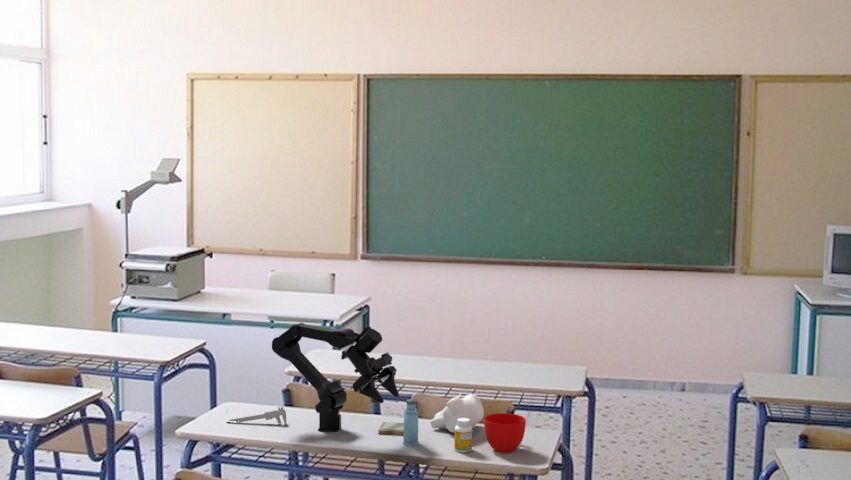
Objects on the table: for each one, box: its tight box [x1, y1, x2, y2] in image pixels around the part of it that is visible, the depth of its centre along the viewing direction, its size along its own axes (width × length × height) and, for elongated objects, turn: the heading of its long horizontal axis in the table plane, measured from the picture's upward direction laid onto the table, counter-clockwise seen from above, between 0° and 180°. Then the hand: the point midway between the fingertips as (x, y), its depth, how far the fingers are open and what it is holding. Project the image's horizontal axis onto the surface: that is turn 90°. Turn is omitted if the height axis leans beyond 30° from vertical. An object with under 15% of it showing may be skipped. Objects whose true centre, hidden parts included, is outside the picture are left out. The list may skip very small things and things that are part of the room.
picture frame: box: [377, 421, 404, 436], centre depth 334 cm, size 10×10×1 cm
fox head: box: [430, 393, 485, 434], centre depth 334 cm, size 13×17×20 cm
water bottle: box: [402, 398, 420, 447], centre depth 319 cm, size 5×5×14 cm
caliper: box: [228, 406, 287, 424], centre depth 341 cm, size 20×1×6 cm, turn 89°
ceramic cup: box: [483, 412, 527, 454], centre depth 315 cm, size 13×17×10 cm
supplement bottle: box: [453, 418, 473, 453], centre depth 313 cm, size 5×5×10 cm
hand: (390, 399), depth 322 cm, fingers open, 9 cm apart
